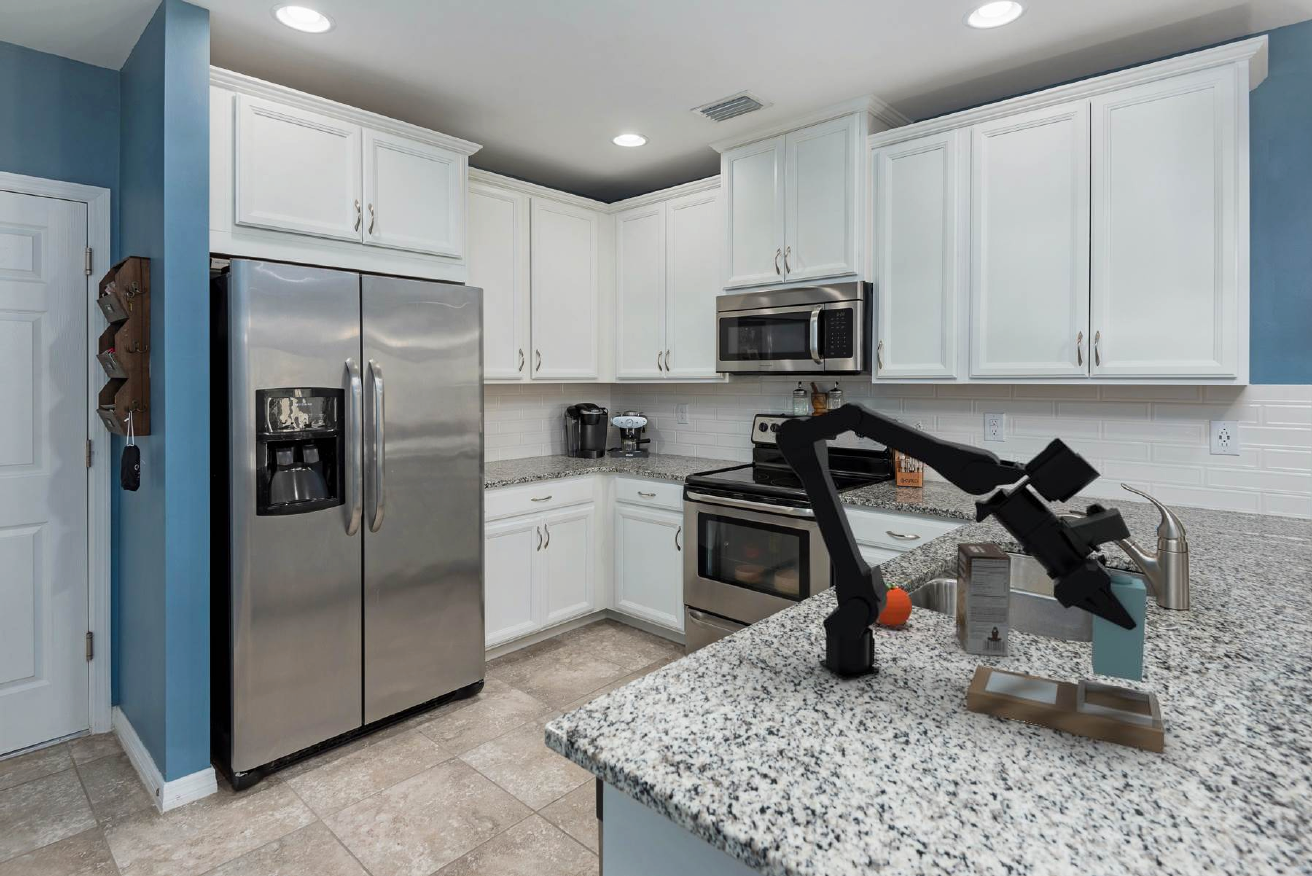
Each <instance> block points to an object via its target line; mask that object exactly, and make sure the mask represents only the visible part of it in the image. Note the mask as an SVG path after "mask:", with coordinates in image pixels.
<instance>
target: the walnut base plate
mask: <svg viewBox="0 0 1312 876" xmlns="http://www.w3.org/2000/svg"><path fill="white" fill-rule="evenodd" d="M966 711H969V712H975V713H979V714H983V713H984V714H983V715H988V716H993V717H996V716H1000V717H999V718H1001V717H1003V718H1002V719H1005V718H1010V719H1014V720H1019V721H1025V722H1028V723H1032V724H1037V725H1041V726H1045V727H1044V728H1046V727H1047V729H1050V728H1051V729H1050V730H1055V729H1057V730H1056V731H1059V730H1060V732H1064V733H1067V734H1068V733H1069V734H1074V735H1078V736H1082V737H1087V738H1092V739H1095V740H1101V741H1105V742H1109V743H1114V744H1118V745H1122V746H1123V745H1124V746H1127V747H1132V748H1136V749H1141V750H1145V751H1148V752H1149V751H1150V752H1155V753H1159V754H1164V749H1165V748H1164V743H1165V730H1164V723H1163V719H1162V715H1161V708H1160V702H1159V699H1158V697H1157V693H1154V692H1148V691H1144V690H1137V689H1133V688H1127V687H1122V686H1117V685H1112V684H1106V683H1101V682H1097V681H1096V682H1094V681H1090V680H1084V679H1078V680H1077V683H1073V682H1068V681H1063V680H1057V679H1052V678H1046V677H1042V676H1041V677H1040V676H1036V675H1030V674H1025V673H1020V672H1014V671H1010V670H1004V669H999V668H994V667H988V666H983V665H977V668H976V669H975V672H974V674H973V676H972V679H971V682H970V684H969V686H968V688H967V691H966ZM1010 719H1009V720H1010ZM1014 720H1013V721H1014ZM1019 721H1018V722H1019ZM1028 723H1027V724H1028ZM1032 724H1031V725H1032ZM1037 725H1036V726H1037ZM1041 726H1040V727H1041Z"/></svg>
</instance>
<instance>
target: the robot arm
mask: <svg viewBox="0 0 1312 876" xmlns="http://www.w3.org/2000/svg"><path fill="white" fill-rule="evenodd" d="M849 431H850V432H854V433H855V434H857V435H861V436H863V437H865V438H867V439H869V440H872V441H874V442H875V443H878V444H880V445H883V446H885V447H888V448H890V449H892V450H894V451H896V452H898V453H900V454H902V455H904V456H907V457H909V458H911V459H914V460H915V461H916V460H917V461H918V462H921V463H923V464H925V466H928V467H929V468H931V469H932V470H934V471H935V472H936V473H937V474H939V475H940V476H941V477H942V478H943V479H945V480H946V481H948V482H949V483H951V484H952V485H953V486H955V487H957V488H958V489H960V490H961V491H963V492H964V493H966V494H969V495H972V496H982V495H986V494H989V493H991V492H993V491H994V490H995V489H996V488H997V487H999V486H1009V485H1015V484H1017V483H1018V482H1019V481H1020V480H1021V479H1023V478H1024V477H1025V476H1027V477H1026V478H1025V479H1024V480H1023V481H1021V482H1020V483H1019V484H1017V485H1016V486H1015V487H1013V488H1012V489H1011V490H1009V491H1008V490H1007V489H1005V488H1003V487H1001V488H1000V489H998V490H997V491H996V492H995V493H993V494H992V495H991V496H990V497H989V498H987V499H986V500H980V499H977V500H976V501H975V502H974V507H975V512H976V514H975V522H976V523H977V524H981V523H982V522H983V521H984V520H985V519H987V518H988V517H989V516H992V517H993V518H994V519H995V520H996V521H997V522H998V523H999V524H1000V525H1001V527H1003V528H1004V529H1005V530H1006V531H1007V532H1008V533H1009V534H1010V535H1011V537H1013V538H1014V539H1015V540H1016V541H1017V542H1018V543H1019V544H1020V545H1021V550H1022V551H1023V552H1024V553H1025V554H1026V555H1027V556H1029V555H1031V556H1032V557H1033V558H1034V560H1036V561H1037V562H1038V563H1039V564H1040V565H1041V566H1042V568H1044V569H1045V570H1046V575H1047V576H1048V577H1049V578H1050V579H1051V580H1052V581H1053V589H1052V590H1053V597H1054V599H1055V600H1057V601H1058V603H1060V604H1061V606H1062V607H1063V608H1065V609H1070V608H1071V607H1076V608H1078V609H1080V610H1082V611H1085V612H1087V613H1090V614H1092V615H1093V614H1094V615H1096V616H1099V617H1101V618H1103V619H1105V620H1107V621H1110V622H1112V623H1114V624H1116V625H1118V626H1120V627H1123V628H1125V629H1127V630H1132V629H1133V628H1135V627H1136V626H1137V625H1136V623H1135V621H1134V620H1133V619H1132V617H1131V616H1130V614H1129V613H1128V612H1127V610H1126V609H1125V608H1124V606H1123V605H1122V604H1121V602H1120V601H1119V599H1118V598H1117V597H1116V595H1115V594H1114V593H1113V591H1112V590H1111V580H1112V575H1111V570H1110V569H1107V567H1106V566H1107V559H1106V555H1105V554H1104V553H1103V554H1100V555H1099V556H1097V557H1096V558H1092V557H1091V556H1090V555H1091V554H1093V553H1094V551H1095V552H1096V553H1097V554H1098V553H1100V552H1102V548H1101V546H1100V545H1103V544H1108V543H1110V542H1113V541H1114V542H1115V541H1118V542H1121V541H1122V540H1125V539H1126V540H1127V539H1128V538H1130V537H1131V536H1132V535H1131V533H1130V532H1131V531H1130V530H1129V528H1128V527H1127V524H1126V523H1125V520H1124V518H1123V516H1122V514H1121V513H1120V511H1119V509H1118V508H1117V507H1115V508H1114V507H1111V508H1109V509H1107V508H1105V507H1104V506H1103V505H1101V504H1100V503H1099V502H1096V503H1092V504H1089V505H1086V508H1085V516H1084V517H1083V516H1082V517H1079V518H1078V519H1076V520H1073V521H1071V522H1070V521H1068V520H1067V519H1066V518H1065V517H1064V516H1063V515H1061V516H1060V515H1059V514H1058V515H1056V514H1055V513H1054V512H1053V511H1052V510H1051V509H1049V507H1047V505H1045V503H1043V502H1042V501H1041V499H1039V497H1037V496H1036V495H1035V494H1034V493H1033V491H1031V490H1030V489H1029V488H1028V487H1027V486H1028V485H1030V486H1031V488H1033V489H1034V490H1035V491H1036V492H1037V493H1038V494H1039V495H1040V496H1041V497H1042V498H1043V499H1044V500H1045V501H1047V502H1048V503H1050V504H1051V503H1052V502H1054V503H1056V502H1057V501H1059V502H1061V503H1062V504H1065V503H1066V502H1068V501H1070V500H1071V499H1072V498H1073V497H1074V496H1075V495H1077V494H1079V492H1082V490H1083V489H1085V488H1086V487H1088V486H1089V485H1091V483H1093V482H1094V481H1096V480H1097V479H1098V478H1099V477H1101V476H1102V475H1101V473H1100V472H1099V471H1098V470H1097V469H1096V468H1095V467H1094V466H1093V465H1092V464H1091V463H1090V462H1088V461H1087V460H1086V458H1084V457H1083V456H1082V455H1081V454H1080V453H1079V452H1075V451H1074V450H1073V449H1072V448H1071V447H1070V446H1068V445H1067V444H1066V443H1065V442H1064V441H1063V440H1061V439H1060V437H1055V438H1054V439H1053V440H1051V441H1050V442H1049V443H1048V444H1047V445H1046V446H1045V448H1043V449H1042V451H1040V452H1039V453H1038V454H1036V455H1035V456H1034V457H1033V458H1031V459H1030V460H1029V461H1028V462H1027V463H1024V462H1019V461H1018V460H1017V461H1013V460H1005V459H1000V457H999V456H998V455H997V454H995V453H994V452H992V451H991V450H988V449H985V448H982V447H977V446H973V445H968V444H966V443H965V444H964V443H960V442H954V441H950V440H949V441H948V440H946V439H945V440H944V439H942V438H938V437H937V436H936V437H935V436H934V435H931V434H930V433H926V432H925V431H922V430H920V429H917V428H914V427H913V426H910V425H908V424H907V423H903V422H901V421H898V420H896V419H894V418H892V417H890V416H887V415H885V414H883V413H880V412H878V411H876V410H873V409H872V408H871V409H870V408H868V407H867V406H865V405H864V403H861V402H856V401H855V402H846V403H844V404H841V406H840V407H838V408H834V409H831V410H828V411H826V412H823V413H821V414H818V415H815V416H812V417H810V416H798V417H793V418H788V419H785V420H784V421H782V422H781V423H780V425H779V426H778V428H777V430H776V432H775V434H774V441H775V444H776V446H777V448H778V450H779V452H780V454H781V456H782V457H783V459H784V460H785V463H787V465H788V466H789V467H790V468H791V470H792V471H793V472H794V473H795V475H796V476H797V477H798V478H799V479H800V481H801V484H802V486H803V488H804V489H803V490H804V491H805V494H806V497H807V500H808V502H809V506H810V508H811V510H812V513H813V516H814V518H815V521H816V524H817V526H818V528H819V532H820V534H821V537H822V540H823V542H824V545H825V547H826V550H827V552H828V556H829V558H830V561H831V564H832V566H833V571H834V573H833V574H834V592H835V596H836V600H837V602H836V603H837V606H835V608H834V609H833V610H832V611H831V612H829V614H828V615H827V617H826V618H824V620H823V621H822V625H823V627H824V628H823V629H824V630H825V631H824V632H825V659H822V660H819V665H820V666H821V667H823V668H824V669H826V670H828V671H829V672H831V673H833V674H834V675H836V676H837V677H839V678H840V679H842V680H852V679H857V678H862V677H867V676H873V675H878V674H880V669H879V668H877V667H876V666H874V665H875V656H876V653H875V648H876V646H875V643H876V639H875V637H874V629H873V628H871V626H872V625H873V624H875V623H876V622H877V621H878V618H879V616H880V615H881V613H882V612H883V610H884V609H885V607H886V605H887V599H888V598H887V593H888V591H889V590H890V589H889V587H888V586H887V585H888V584H887V583H886V582H885V580H884V577H883V573H882V568H881V566H880V564H877V565H875V566H873V567H871V566H870V565H869V563H868V562H866V560H865V559H864V558H863V556H862V553H861V551H860V548H859V546H858V543H857V541H856V538H855V535H854V533H853V531H852V527H851V525H850V522H849V519H848V517H847V515H846V512H845V508H844V506H843V504H842V501H841V498H840V495H839V494H838V490H837V489H836V485H835V482H834V480H833V477H832V476H831V472H830V469H829V453H828V452H829V450H828V444H827V440H829V439H831V438H835V437H836V436H839V435H842V434H844V433H847V432H849Z"/></svg>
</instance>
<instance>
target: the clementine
mask: <svg viewBox="0 0 1312 876" xmlns="http://www.w3.org/2000/svg"><path fill="white" fill-rule="evenodd" d="M886 585H887V586H888V587H889V589H890V590H889V591H888V593H887V598H888V599H887V605H886V607H885V609H884V610H883V612H882V613H881V615H880V616H879V618H878V619H877V621H879V622H880V623H881V624H883V625H886V626H889V627H895V626H896V627H897V626H900V625H902V624H905V623H906V622H907V621H908V620H909V618H910V616H911V614H912V612H913V611H912V610H913V605H912V601H911V598H910V596H909V595H908V593H907V592H906V591H904V590H903V589H902V588H900V587H897V586H893V585H891V584H890V585H889V584H886Z"/></svg>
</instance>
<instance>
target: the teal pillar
mask: <svg viewBox="0 0 1312 876" xmlns="http://www.w3.org/2000/svg"><path fill="white" fill-rule="evenodd" d="M1111 575H1112V580H1111V590H1112V591H1113V593H1114V594H1115V595H1116V597H1117V598H1118V599H1119V601H1120V602H1121V604H1122V605H1123V606H1124V608H1125V609H1126V610H1127V612H1128V613H1129V614H1130V616H1131V617H1132V619H1133V620H1134V621H1135V623H1136V625H1137V626H1136V627H1135V628H1133V629H1132V630H1127V629H1125V628H1123V627H1120V626H1118V625H1116V624H1114V623H1112V622H1110V621H1107V620H1105V619H1103V618H1101V617H1099V616H1096V615H1094V614H1092V634H1091V635H1092V636H1091V637H1092V638H1091V653H1090V654H1091V657H1090V660H1091V666H1092V672H1093V675H1100V676H1105V677H1109V678H1110V677H1111V678H1117V679H1122V680H1128V681H1134V682H1135V681H1136V682H1140V683H1141V682H1143V667H1144V666H1143V665H1144V663H1143V662H1144V648H1145V647H1144V646H1145V645H1144V644H1145V631H1146V630H1145V628H1146V627H1145V626H1146V624H1145V623H1146V607H1147V588H1146V586H1145V583H1144V581H1143V580H1142V579H1141V578H1133V576H1131V575H1128V574H1124V573H1114V572H1113V573H1111Z"/></svg>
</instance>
